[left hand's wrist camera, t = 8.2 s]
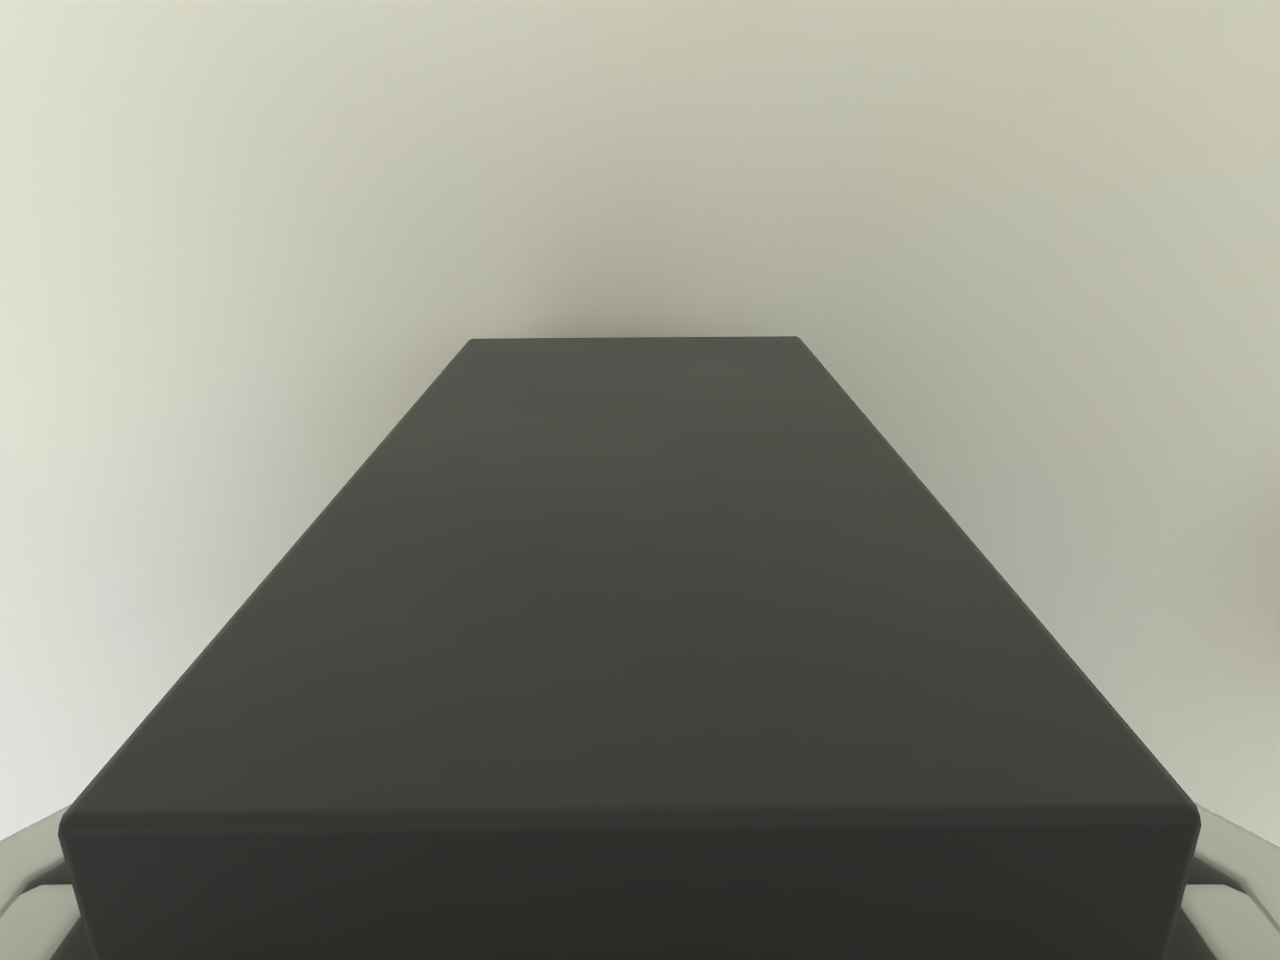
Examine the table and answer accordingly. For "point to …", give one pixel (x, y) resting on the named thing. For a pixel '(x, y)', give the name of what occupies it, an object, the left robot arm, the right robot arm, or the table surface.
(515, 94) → the table surface
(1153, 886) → the box
